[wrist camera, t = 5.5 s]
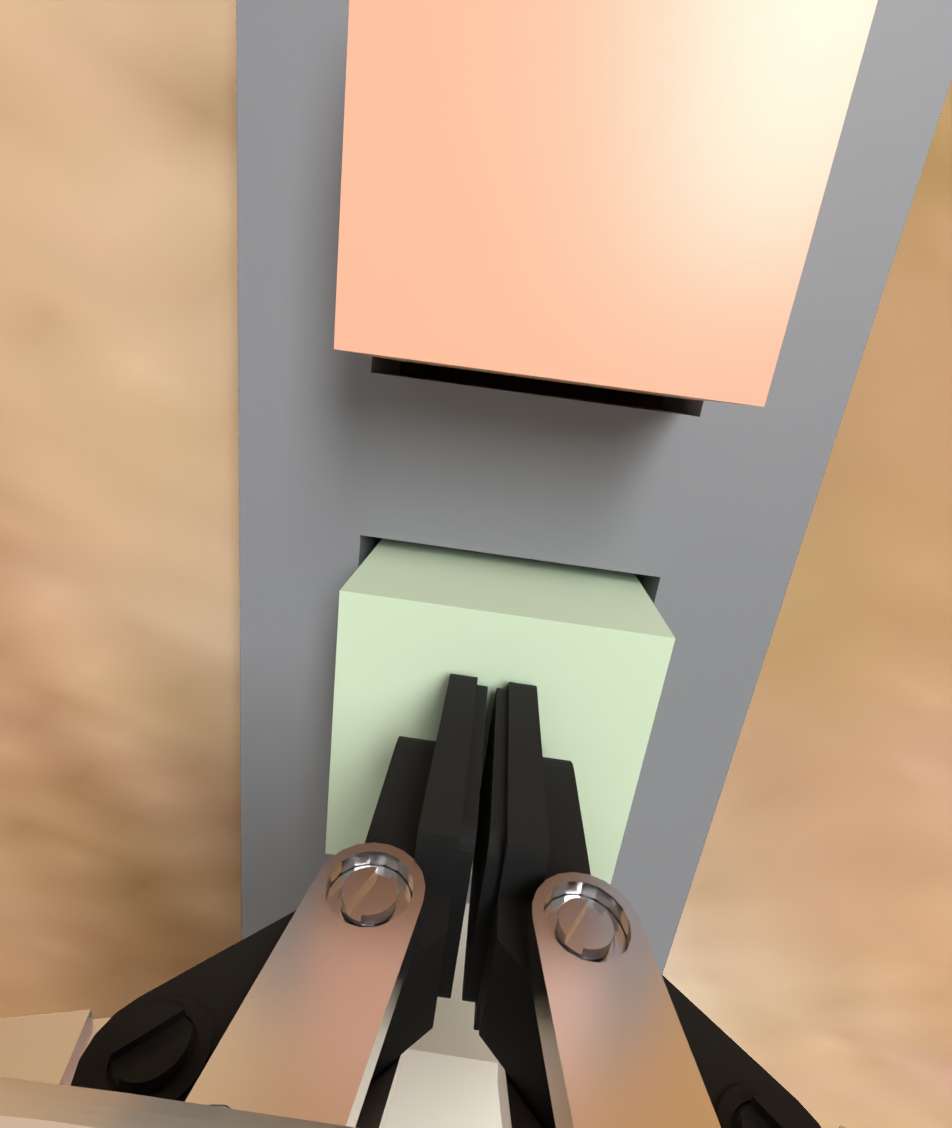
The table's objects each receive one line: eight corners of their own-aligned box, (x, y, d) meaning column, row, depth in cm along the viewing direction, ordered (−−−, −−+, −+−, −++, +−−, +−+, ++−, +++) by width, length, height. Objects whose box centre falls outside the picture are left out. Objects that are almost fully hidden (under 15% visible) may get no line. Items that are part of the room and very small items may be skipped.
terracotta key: (743, 67, 11) (930, -188, 6) (668, 397, 12) (764, 407, 8) (428, 29, 11) (360, -252, 6) (401, 361, 13) (333, 348, 8)
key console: (901, -35, 11) (1034, -176, 8) (596, 1034, 21) (609, 1137, 18) (304, -105, 11) (234, -268, 9) (278, 985, 21) (242, 1079, 18)
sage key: (622, 555, 15) (675, 638, 10) (580, 748, 17) (607, 896, 12) (395, 523, 15) (339, 590, 10) (378, 718, 17) (325, 852, 12)
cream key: (559, 880, 17) (577, 1075, 12) (528, 1017, 19) (533, 1233, 14) (361, 850, 17) (303, 1032, 12) (350, 990, 19) (296, 1195, 14)
